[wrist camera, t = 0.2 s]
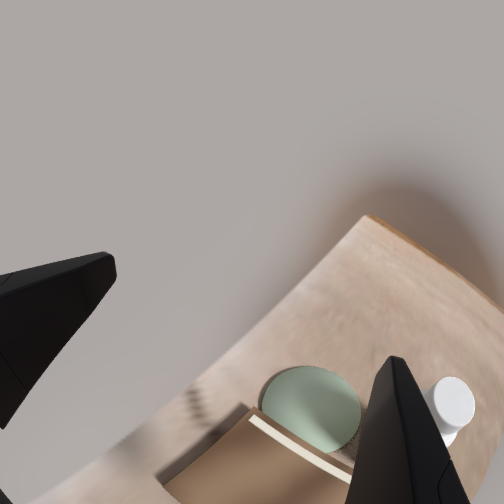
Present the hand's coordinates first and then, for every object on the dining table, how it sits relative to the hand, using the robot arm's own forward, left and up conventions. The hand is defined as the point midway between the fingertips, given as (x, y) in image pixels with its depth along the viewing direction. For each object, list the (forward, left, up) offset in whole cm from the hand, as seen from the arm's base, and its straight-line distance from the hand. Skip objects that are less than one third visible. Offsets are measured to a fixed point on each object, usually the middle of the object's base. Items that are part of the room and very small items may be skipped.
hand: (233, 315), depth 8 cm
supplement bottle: (+4, -14, -17) cm, 22 cm away
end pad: (+7, -6, -17) cm, 19 cm away
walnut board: (-2, -7, -17) cm, 18 cm away
